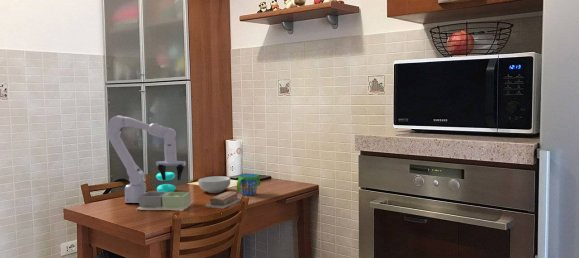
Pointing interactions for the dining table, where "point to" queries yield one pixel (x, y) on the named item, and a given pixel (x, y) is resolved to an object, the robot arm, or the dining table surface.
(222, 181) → the cereal bowl
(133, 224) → the dining table surface
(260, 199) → the dining table surface
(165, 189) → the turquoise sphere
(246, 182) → the snack cup
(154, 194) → the two-tone hollow container
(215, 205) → the packaged product
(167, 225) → the dining table surface
